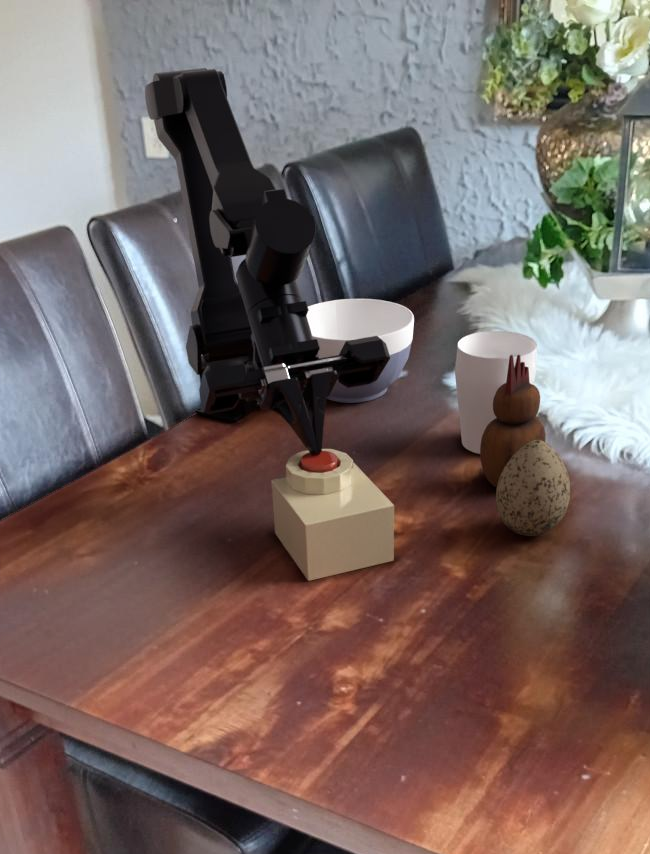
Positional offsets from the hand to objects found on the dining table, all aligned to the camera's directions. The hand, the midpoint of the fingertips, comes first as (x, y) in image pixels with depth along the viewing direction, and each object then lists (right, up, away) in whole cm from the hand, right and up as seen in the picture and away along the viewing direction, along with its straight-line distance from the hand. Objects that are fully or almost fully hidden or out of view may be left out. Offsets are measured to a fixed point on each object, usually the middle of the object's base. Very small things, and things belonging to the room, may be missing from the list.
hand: (317, 453), depth 99 cm
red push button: (0, -2, +1) cm, 2 cm away
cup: (+21, +5, +20) cm, 29 cm away
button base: (+2, -9, +2) cm, 9 cm away
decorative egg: (+22, -8, +3) cm, 23 cm away
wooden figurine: (+22, -1, +12) cm, 25 cm away
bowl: (+6, +15, +35) cm, 39 cm away
